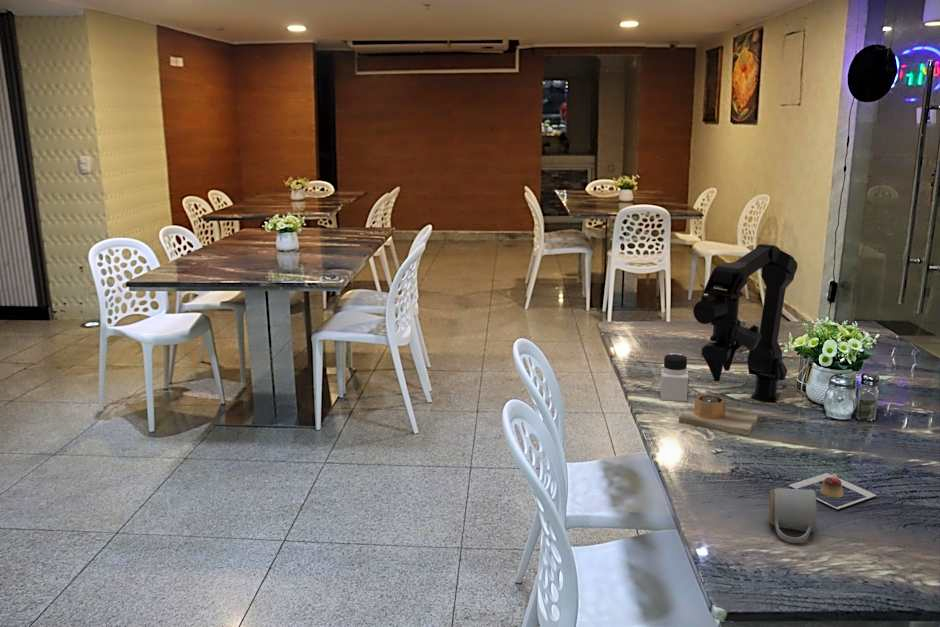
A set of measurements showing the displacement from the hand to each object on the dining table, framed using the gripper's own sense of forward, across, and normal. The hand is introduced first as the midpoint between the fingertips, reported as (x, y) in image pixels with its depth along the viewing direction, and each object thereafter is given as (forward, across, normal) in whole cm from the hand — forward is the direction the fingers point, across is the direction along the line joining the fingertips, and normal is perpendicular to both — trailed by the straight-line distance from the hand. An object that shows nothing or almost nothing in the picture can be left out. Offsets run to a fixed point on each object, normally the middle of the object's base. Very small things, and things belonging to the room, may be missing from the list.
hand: (722, 375), depth 201 cm
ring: (+10, -2, +2) cm, 11 cm away
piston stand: (+12, -2, 0) cm, 12 cm away
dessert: (+12, -29, -31) cm, 44 cm away
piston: (+10, -2, +2) cm, 11 cm away
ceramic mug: (+12, -49, -27) cm, 57 cm away
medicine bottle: (+12, +10, +15) cm, 22 cm away
